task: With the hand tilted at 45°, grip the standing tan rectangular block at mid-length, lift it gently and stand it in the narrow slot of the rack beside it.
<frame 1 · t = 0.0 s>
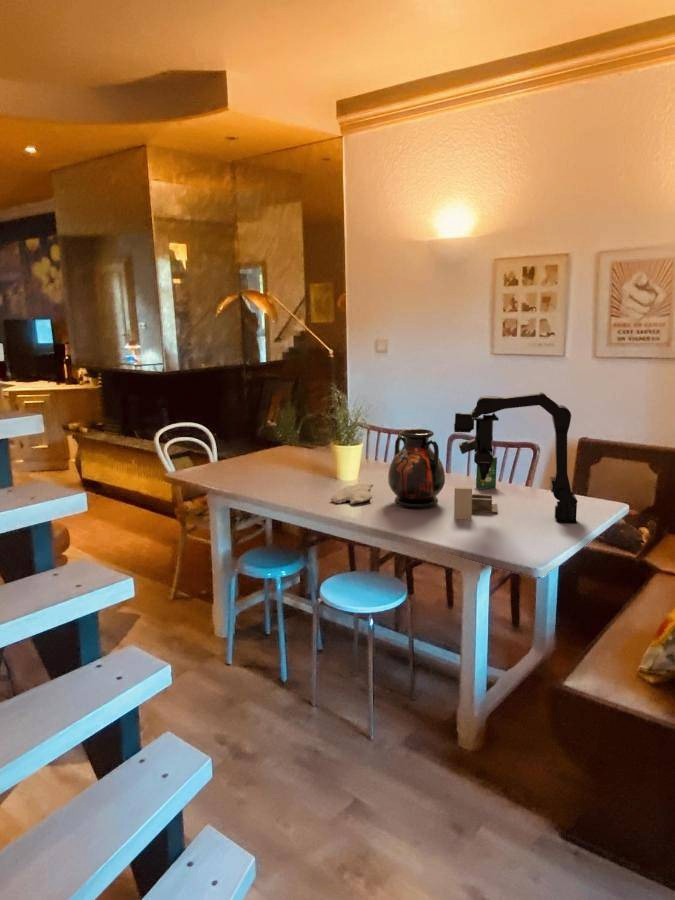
hand: (483, 476, 233), 15 cm above the table, tool pointing down, fingers open, 9 cm apart
tan rectangular block: (462, 517, 236), on the table
amphora vase: (416, 504, 254), on the table
rock: (358, 500, 262), on the table
coffee box: (486, 488, 274), on the table
slot rack: (477, 509, 245), on the table
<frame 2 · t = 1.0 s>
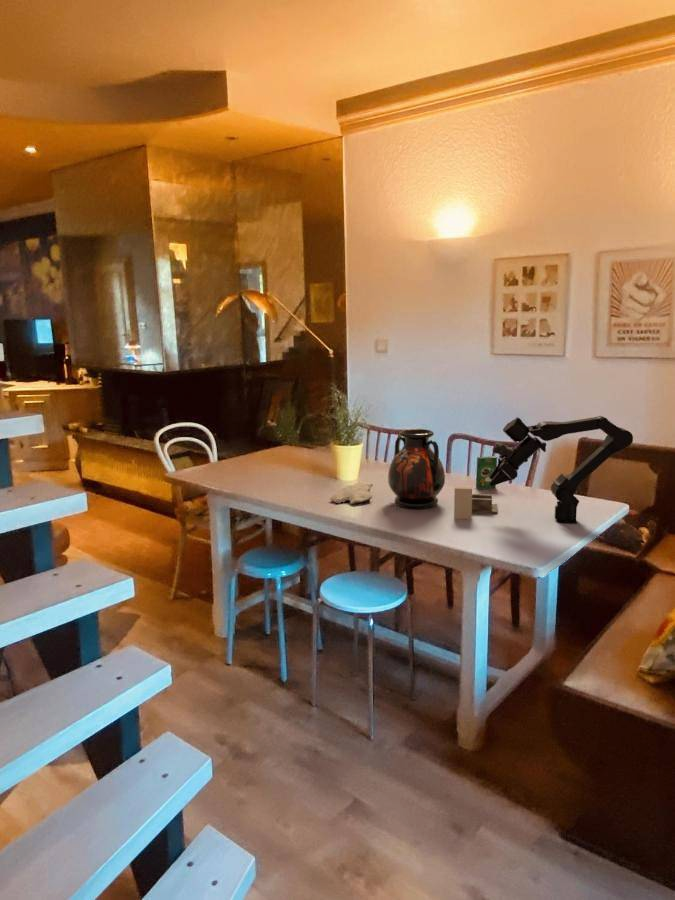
hand: (490, 481, 231), 13 cm above the table, tool tilted 45°, fingers open, 9 cm apart
nothing on the table moved.
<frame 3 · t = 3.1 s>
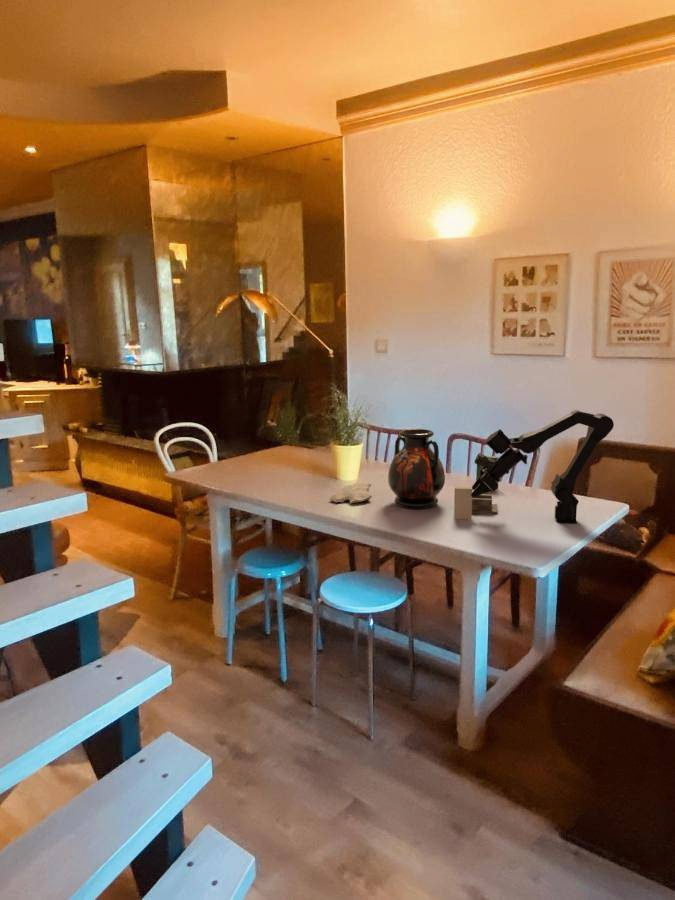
hand: (471, 492, 233), 9 cm above the table, tool tilted 45°, fingers open, 9 cm apart
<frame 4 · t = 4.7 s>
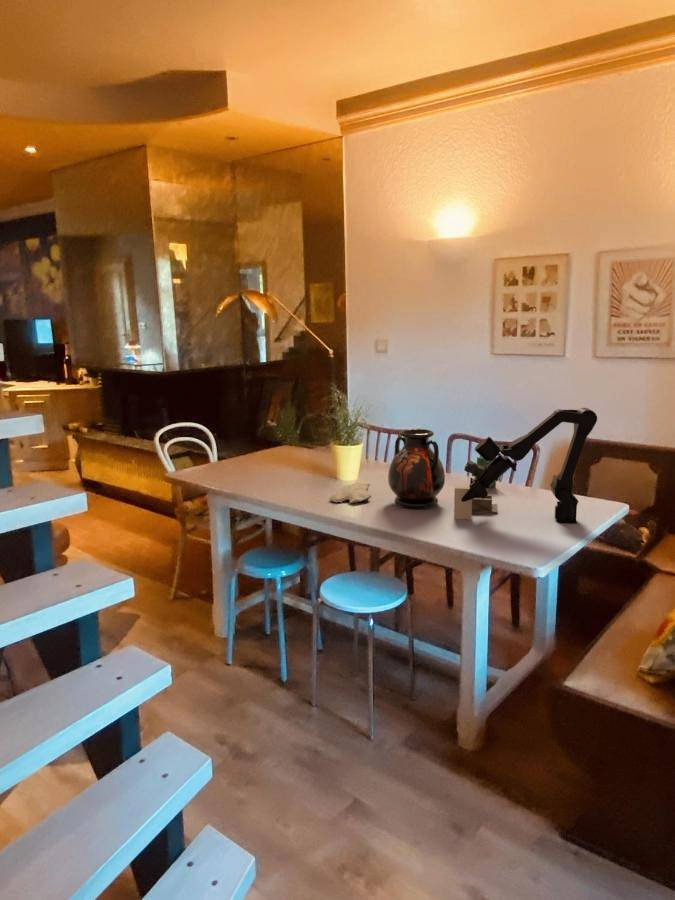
hand: (462, 499, 234), 7 cm above the table, tool tilted 45°, fingers closed on tan rectangular block, 3 cm apart
tan rectangular block: (462, 517, 236), on the table, touching gripper
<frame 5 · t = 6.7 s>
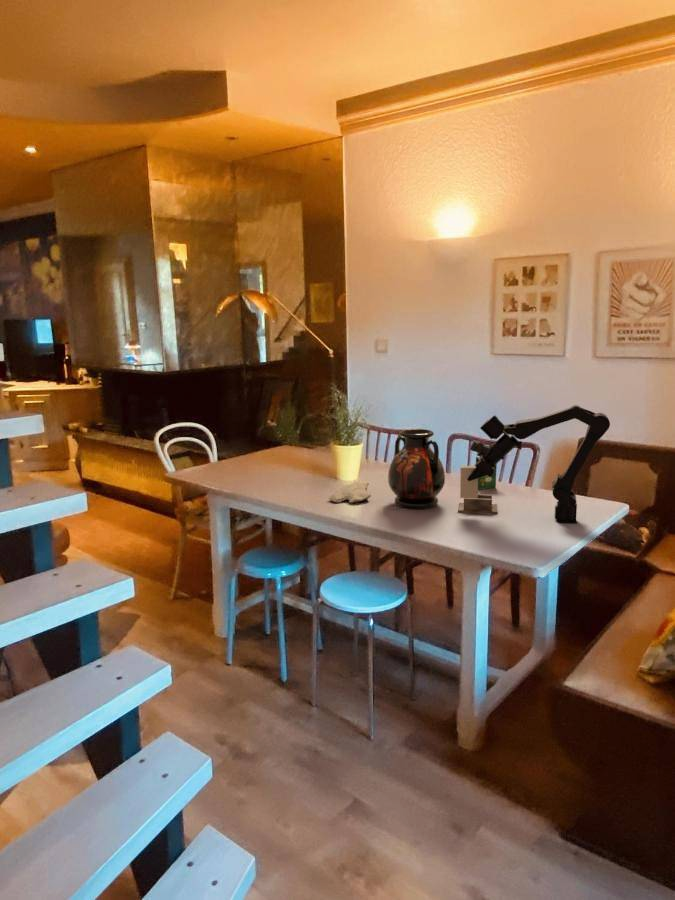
hand: (468, 479, 236), 13 cm above the table, tool tilted 45°, fingers closed on tan rectangular block, 3 cm apart
tan rectangular block: (469, 497, 237), point 7 cm above the table, touching gripper
when the fingers open (9 cm above the table, at t = 8.7 s): tan rectangular block drops 1 cm, resting on slot rack.
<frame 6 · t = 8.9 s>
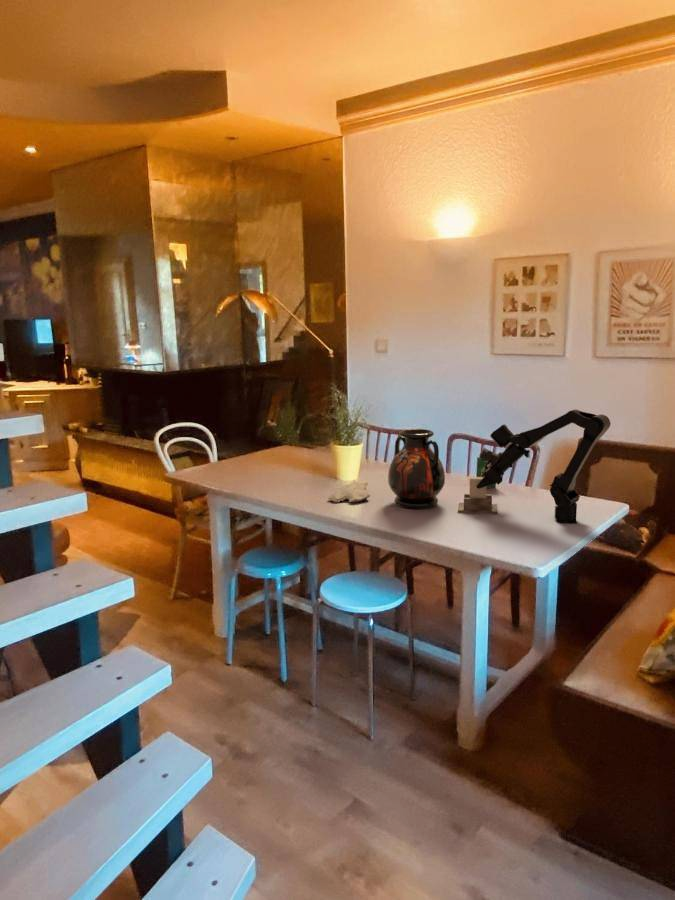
hand: (477, 485, 243), 9 cm above the table, tool tilted 45°, fingers open, 5 cm apart
tan rectangular block: (478, 507, 245), point 1 cm above the table, touching slot rack
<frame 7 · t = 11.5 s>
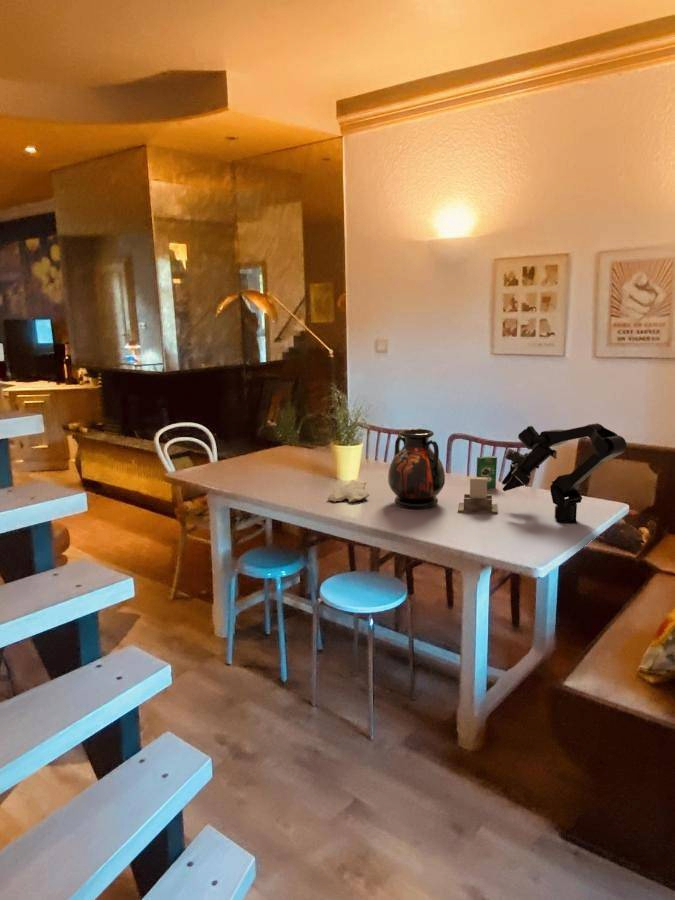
hand: (502, 486, 241), 9 cm above the table, tool tilted 45°, fingers open, 9 cm apart
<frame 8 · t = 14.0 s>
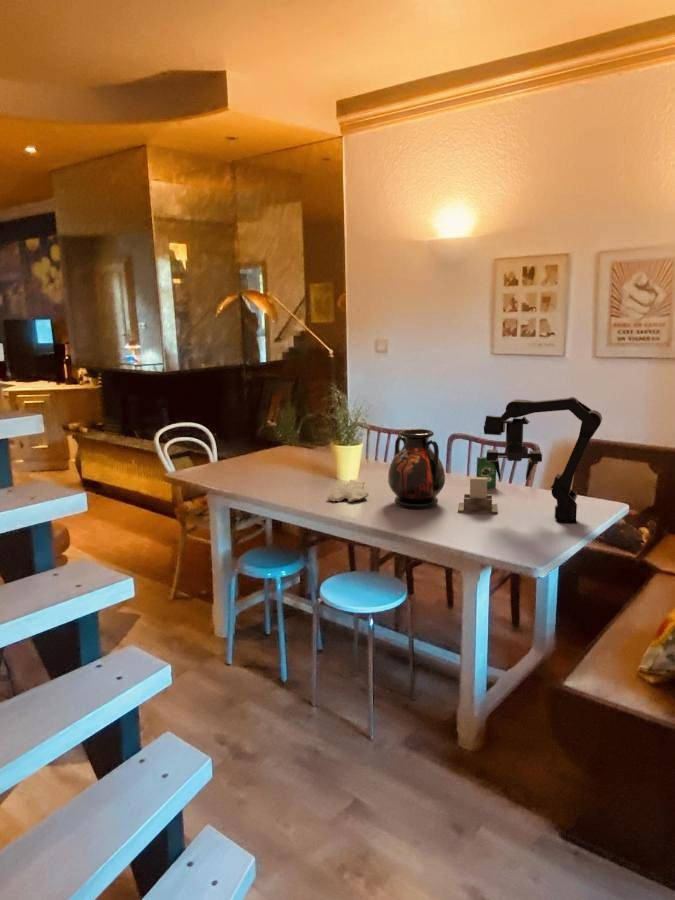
hand: (512, 479, 235), 13 cm above the table, tool pointing down, fingers open, 9 cm apart
at the end: tan rectangular block 0.1 cm off-centre on the slot rack, point 0.8 cm above the slot rack's base; tan rectangular block tilted 0°; the gripper is holding nothing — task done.
